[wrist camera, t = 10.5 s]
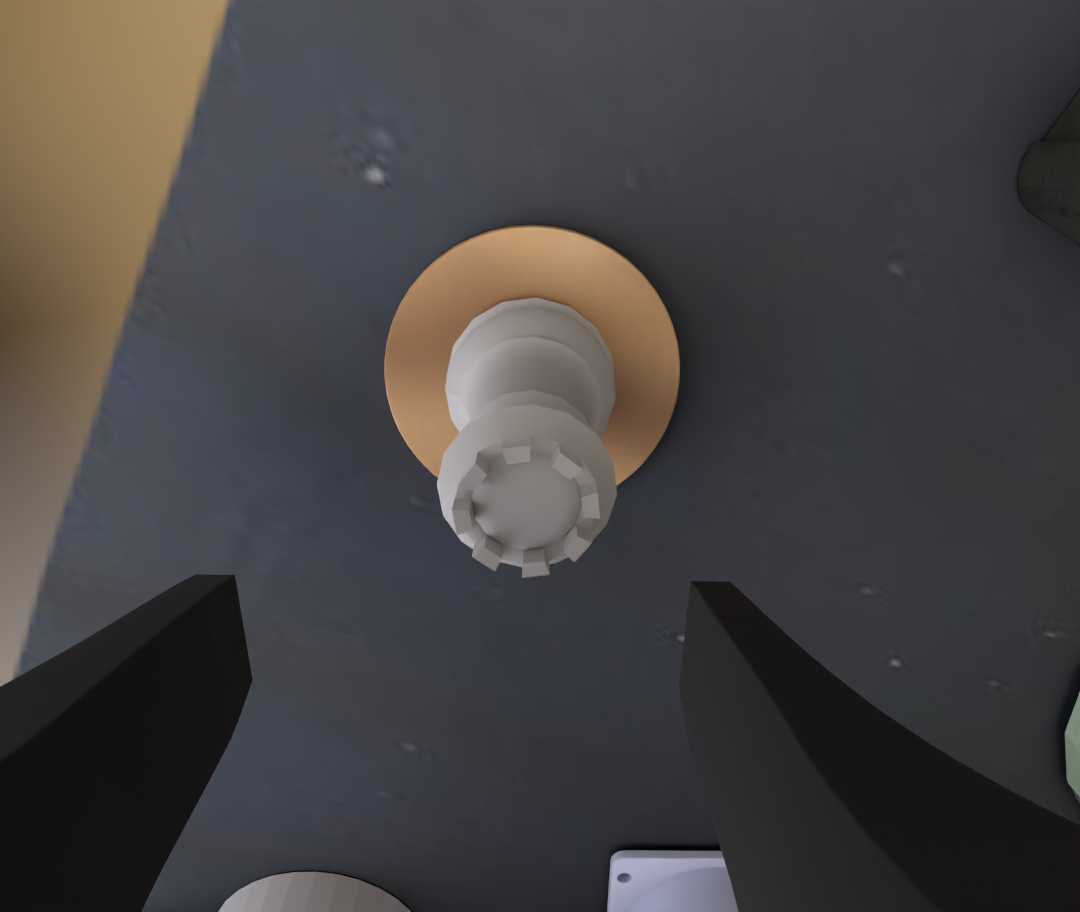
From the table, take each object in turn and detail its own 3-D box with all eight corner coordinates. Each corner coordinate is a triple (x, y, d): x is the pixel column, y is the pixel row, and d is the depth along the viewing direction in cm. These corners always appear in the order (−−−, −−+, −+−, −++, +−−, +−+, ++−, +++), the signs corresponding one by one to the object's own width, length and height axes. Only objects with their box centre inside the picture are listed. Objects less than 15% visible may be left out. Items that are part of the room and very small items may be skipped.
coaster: (666, 507, 22) (668, 513, 21) (396, 504, 22) (394, 510, 21) (690, 225, 19) (693, 227, 18) (375, 222, 19) (372, 224, 18)
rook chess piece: (447, 448, 21) (395, 617, 13) (449, 288, 19) (393, 379, 12) (605, 458, 21) (641, 630, 13) (622, 299, 19) (675, 397, 12)
